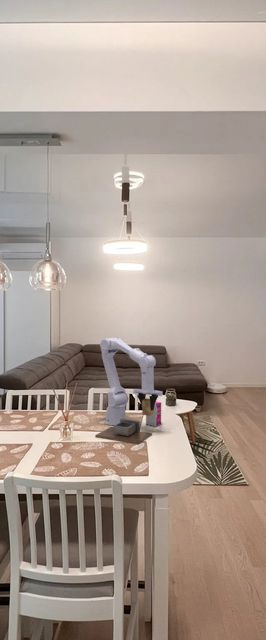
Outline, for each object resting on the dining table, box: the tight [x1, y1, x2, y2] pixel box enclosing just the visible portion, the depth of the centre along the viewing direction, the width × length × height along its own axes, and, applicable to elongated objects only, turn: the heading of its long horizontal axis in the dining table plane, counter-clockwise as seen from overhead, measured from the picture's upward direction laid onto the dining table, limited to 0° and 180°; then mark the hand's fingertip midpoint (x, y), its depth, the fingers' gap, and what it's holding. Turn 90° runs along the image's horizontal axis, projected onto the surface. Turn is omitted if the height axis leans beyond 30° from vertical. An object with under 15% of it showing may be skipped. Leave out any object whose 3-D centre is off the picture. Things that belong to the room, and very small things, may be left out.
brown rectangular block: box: [141, 397, 153, 416], centre depth 182 cm, size 4×4×7 cm
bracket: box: [94, 418, 153, 445], centre depth 176 cm, size 22×14×6 cm, turn 62°
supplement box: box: [145, 401, 162, 428], centre depth 193 cm, size 6×6×12 cm
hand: (147, 409), depth 182 cm, fingers closed on brown rectangular block, 4 cm apart
